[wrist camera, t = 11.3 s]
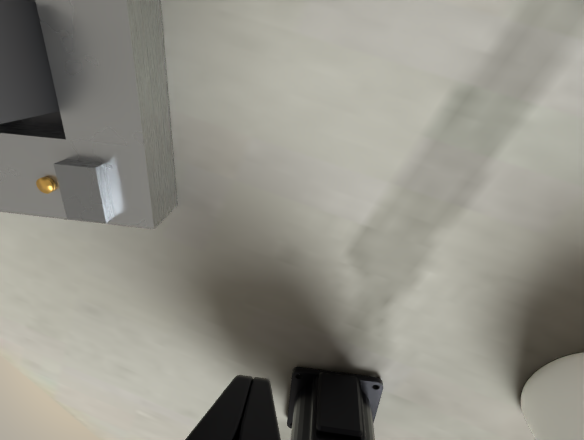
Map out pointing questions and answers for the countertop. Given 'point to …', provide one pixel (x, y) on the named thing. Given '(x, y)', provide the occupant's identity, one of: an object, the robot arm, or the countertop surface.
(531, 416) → the cup
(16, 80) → the plug
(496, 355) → the countertop surface
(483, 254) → the countertop surface
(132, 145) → the faceplate
